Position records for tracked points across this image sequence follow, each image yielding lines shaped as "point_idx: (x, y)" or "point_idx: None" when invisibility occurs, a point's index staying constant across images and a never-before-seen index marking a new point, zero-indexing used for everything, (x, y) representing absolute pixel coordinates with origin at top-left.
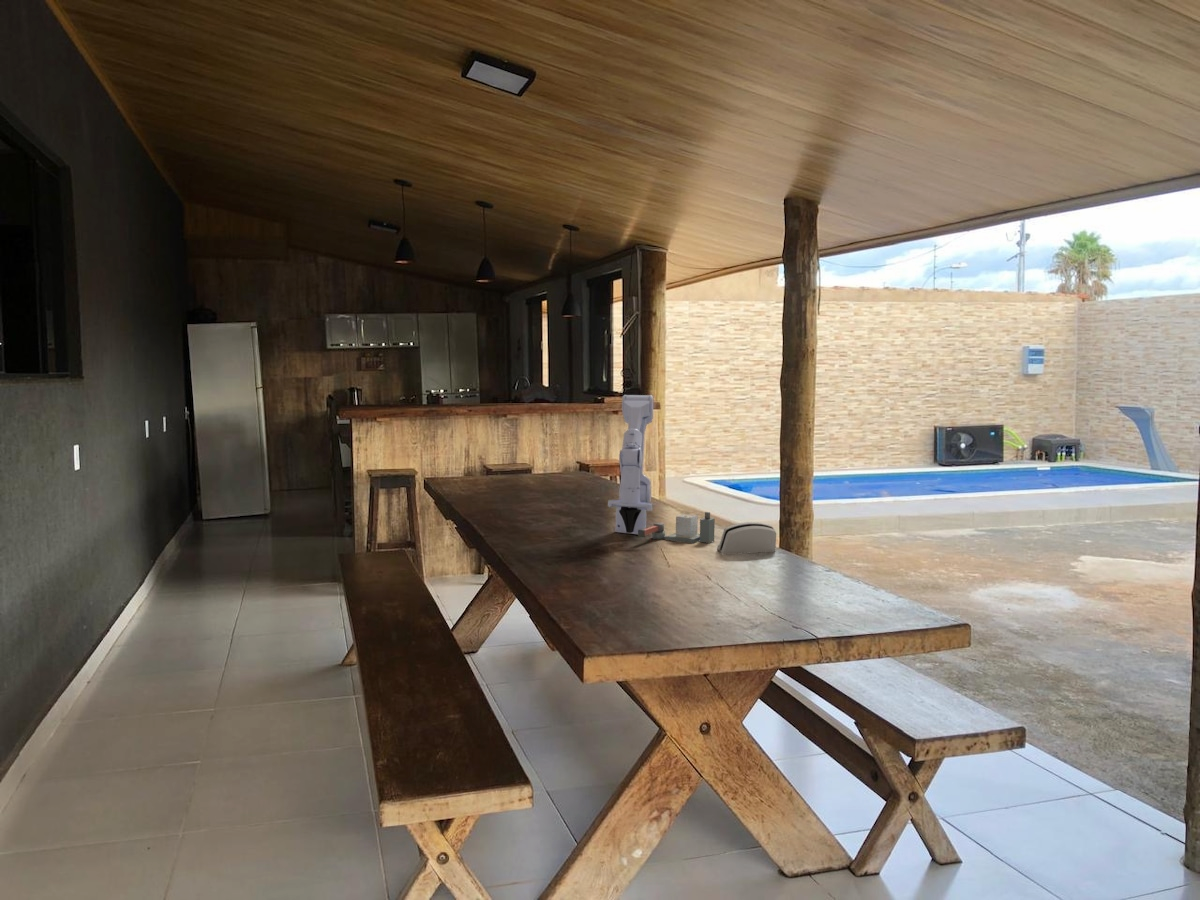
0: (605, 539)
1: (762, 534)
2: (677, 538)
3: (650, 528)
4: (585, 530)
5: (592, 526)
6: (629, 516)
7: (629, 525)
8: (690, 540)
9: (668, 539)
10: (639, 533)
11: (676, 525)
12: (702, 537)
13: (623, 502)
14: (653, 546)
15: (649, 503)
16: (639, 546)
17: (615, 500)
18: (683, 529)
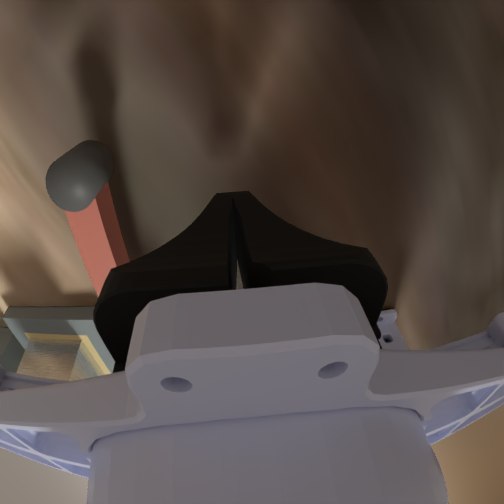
0: (384, 150)
1: None
2: (52, 316)
3: (99, 290)
4: (487, 271)
5: (468, 326)
6: (191, 250)
7: (212, 211)
8: (11, 314)
9: (91, 309)
10: (77, 147)
11: (67, 379)
12: (2, 342)
13: (342, 428)
14: (34, 152)
15: (19, 454)
16: (83, 92)
17: (478, 415)
18: (44, 364)
